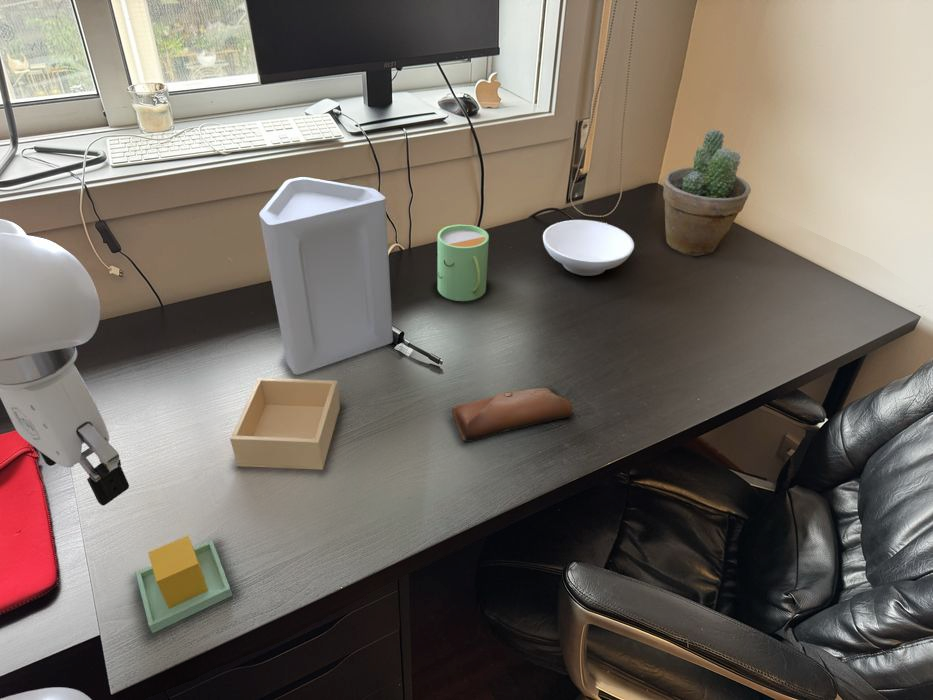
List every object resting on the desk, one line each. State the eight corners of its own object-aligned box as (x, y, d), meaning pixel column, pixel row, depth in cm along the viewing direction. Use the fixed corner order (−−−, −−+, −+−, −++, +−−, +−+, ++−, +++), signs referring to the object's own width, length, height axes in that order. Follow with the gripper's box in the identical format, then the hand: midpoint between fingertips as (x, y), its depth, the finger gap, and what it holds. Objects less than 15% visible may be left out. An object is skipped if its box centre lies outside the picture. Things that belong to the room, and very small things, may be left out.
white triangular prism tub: (359, 303, 127) (347, 167, 110) (394, 341, 117) (387, 198, 100) (265, 332, 118) (237, 189, 101) (295, 376, 108) (268, 225, 91)
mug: (428, 282, 134) (427, 230, 127) (472, 271, 138) (474, 220, 131) (454, 312, 125) (455, 258, 118) (500, 300, 129) (504, 247, 122)
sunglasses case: (548, 385, 108) (561, 370, 102) (562, 424, 105) (576, 412, 99) (447, 408, 102) (455, 394, 96) (460, 450, 100) (468, 438, 94)
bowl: (523, 256, 144) (525, 229, 140) (593, 240, 152) (597, 213, 147) (572, 298, 130) (576, 269, 126) (647, 278, 138) (653, 250, 134)
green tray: (152, 633, 72) (148, 626, 71) (138, 579, 77) (135, 572, 76) (232, 595, 76) (230, 588, 75) (214, 546, 81) (212, 539, 80)
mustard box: (168, 609, 74) (156, 581, 70) (160, 579, 77) (148, 551, 73) (208, 590, 76) (198, 563, 72) (198, 562, 79) (188, 535, 75)
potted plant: (746, 260, 146) (782, 153, 131) (673, 267, 142) (701, 158, 127) (705, 224, 160) (733, 124, 145) (637, 230, 156) (658, 128, 141)
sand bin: (322, 470, 92) (318, 442, 88) (237, 466, 92) (229, 438, 89) (340, 407, 102) (336, 380, 99) (263, 404, 103) (257, 377, 99)
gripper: (-64, 339, 60) (9, 464, 71) (38, 409, 53) (103, 537, 63) (17, 304, 65) (75, 425, 76) (120, 364, 58) (168, 488, 68)
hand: (87, 476), depth 69 cm, fingers open, 9 cm apart
